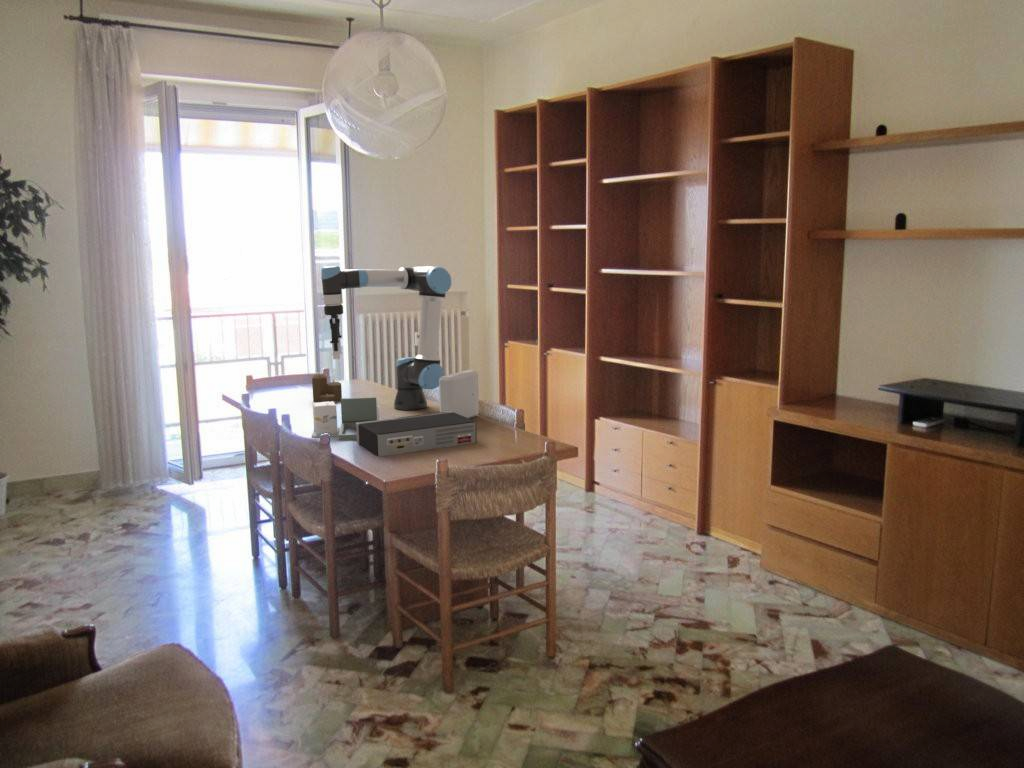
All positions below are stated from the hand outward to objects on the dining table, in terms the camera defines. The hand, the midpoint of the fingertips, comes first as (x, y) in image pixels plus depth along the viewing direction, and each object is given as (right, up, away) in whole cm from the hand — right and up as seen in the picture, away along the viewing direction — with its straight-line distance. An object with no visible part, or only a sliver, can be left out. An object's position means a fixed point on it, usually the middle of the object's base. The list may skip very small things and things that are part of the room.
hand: (337, 356), depth 342 cm
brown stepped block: (-18, -20, +58) cm, 64 cm away
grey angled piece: (+10, -31, -8) cm, 34 cm away
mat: (-3, -31, -8) cm, 32 cm away
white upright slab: (+49, -27, +14) cm, 58 cm away
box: (+35, -34, -24) cm, 55 cm away
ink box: (-3, -31, -9) cm, 32 cm away
